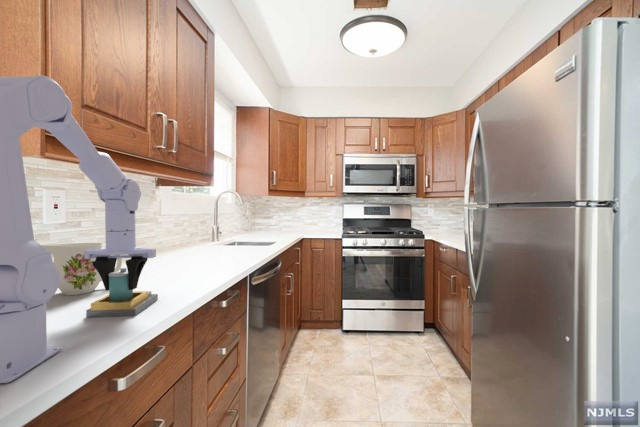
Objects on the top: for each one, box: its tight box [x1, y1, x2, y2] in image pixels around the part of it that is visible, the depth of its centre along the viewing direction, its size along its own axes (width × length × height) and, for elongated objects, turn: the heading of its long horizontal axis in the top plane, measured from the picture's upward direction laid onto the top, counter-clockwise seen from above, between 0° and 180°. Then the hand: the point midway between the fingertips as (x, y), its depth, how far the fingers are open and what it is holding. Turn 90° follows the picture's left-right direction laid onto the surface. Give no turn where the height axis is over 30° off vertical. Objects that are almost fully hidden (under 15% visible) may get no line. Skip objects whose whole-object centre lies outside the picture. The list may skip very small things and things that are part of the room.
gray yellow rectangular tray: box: [85, 290, 159, 318], centre depth 70 cm, size 13×10×3 cm
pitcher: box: [41, 242, 123, 296], centre depth 82 cm, size 11×18×14 cm, turn 136°
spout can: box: [108, 267, 134, 301], centre depth 67 cm, size 5×5×7 cm
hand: (121, 289), depth 67 cm, fingers closed on spout can, 4 cm apart
